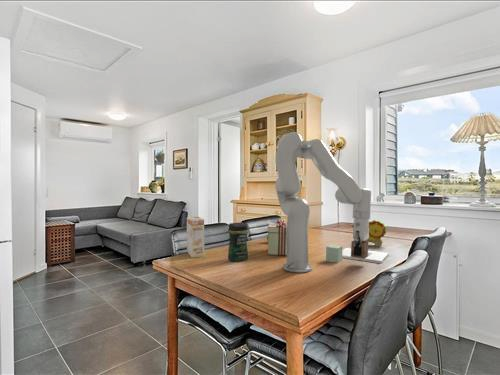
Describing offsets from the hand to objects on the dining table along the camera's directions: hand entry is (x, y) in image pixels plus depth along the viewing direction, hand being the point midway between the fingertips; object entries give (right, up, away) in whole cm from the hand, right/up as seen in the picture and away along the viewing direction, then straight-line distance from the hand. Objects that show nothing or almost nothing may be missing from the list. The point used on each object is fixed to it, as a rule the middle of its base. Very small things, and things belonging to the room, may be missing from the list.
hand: (359, 253), depth 133 cm
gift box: (-32, -5, +26) cm, 42 cm away
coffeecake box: (-80, -6, +23) cm, 83 cm away
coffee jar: (-56, -6, +11) cm, 58 cm away
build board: (+7, -5, +16) cm, 18 cm away
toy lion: (+23, -4, +41) cm, 48 cm away
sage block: (-9, -5, +8) cm, 13 cm away
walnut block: (0, -1, 0) cm, 1 cm away
